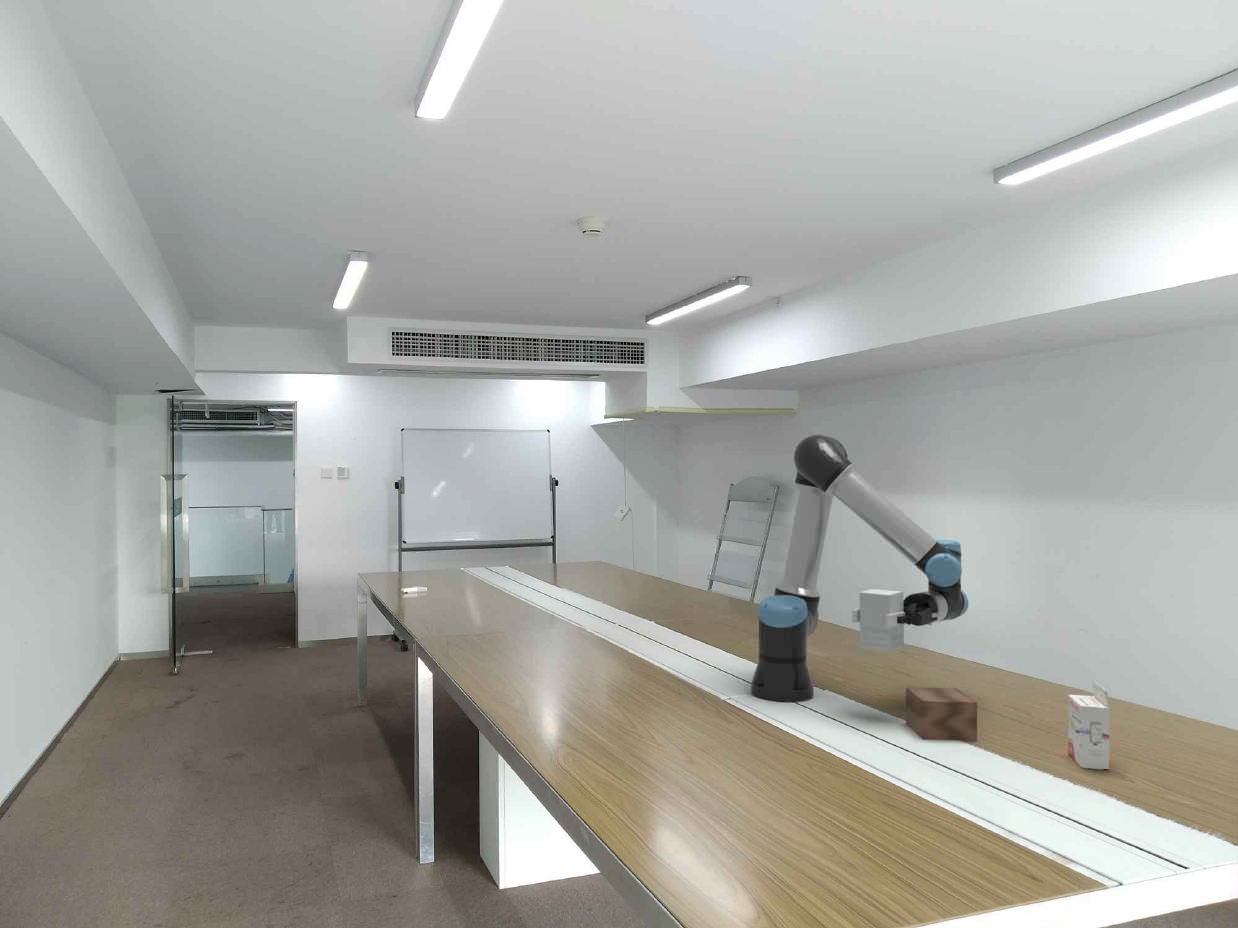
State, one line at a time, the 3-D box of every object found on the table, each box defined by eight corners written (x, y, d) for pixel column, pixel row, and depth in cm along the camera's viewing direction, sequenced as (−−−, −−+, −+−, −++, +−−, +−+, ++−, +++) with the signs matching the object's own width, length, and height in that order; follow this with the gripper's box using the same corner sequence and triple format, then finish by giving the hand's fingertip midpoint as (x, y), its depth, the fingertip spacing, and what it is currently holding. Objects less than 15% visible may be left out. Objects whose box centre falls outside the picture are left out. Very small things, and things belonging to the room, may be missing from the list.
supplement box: (905, 647, 188) (904, 591, 189) (889, 652, 183) (889, 594, 183) (874, 643, 194) (874, 588, 194) (858, 647, 188) (858, 591, 188)
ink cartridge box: (1066, 753, 165) (1067, 678, 166) (1094, 755, 164) (1094, 680, 165) (1081, 768, 157) (1081, 689, 157) (1110, 770, 156) (1111, 691, 156)
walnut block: (922, 740, 173) (923, 701, 173) (905, 723, 184) (906, 687, 184) (976, 741, 173) (977, 702, 173) (956, 724, 184) (956, 688, 184)
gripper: (965, 630, 192) (913, 643, 177) (885, 618, 208) (830, 629, 193) (965, 597, 192) (913, 607, 177) (885, 587, 208) (830, 596, 193)
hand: (870, 618), depth 185 cm, fingers closed on supplement box, 8 cm apart
